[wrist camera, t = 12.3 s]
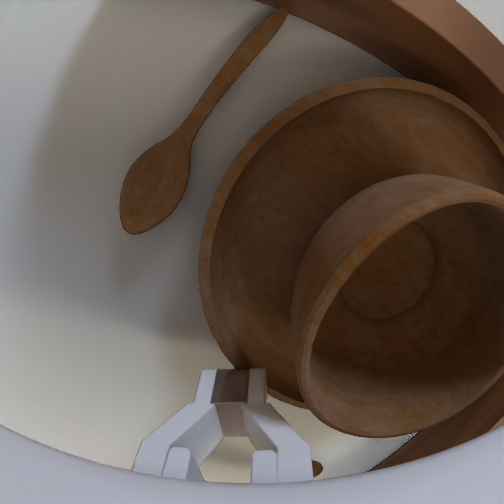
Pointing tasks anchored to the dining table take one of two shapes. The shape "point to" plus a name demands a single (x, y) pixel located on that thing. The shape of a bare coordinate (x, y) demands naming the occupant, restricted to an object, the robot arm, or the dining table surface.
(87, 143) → the dining table surface
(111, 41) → the dining table surface
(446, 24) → the corner guard
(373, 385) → the place setting
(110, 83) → the dining table surface
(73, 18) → the dining table surface
